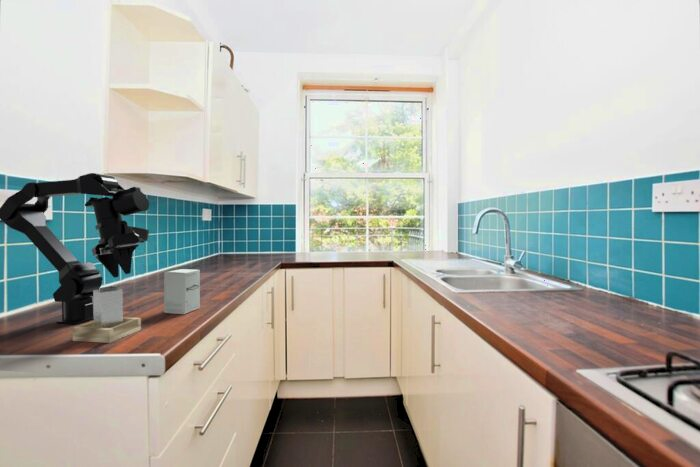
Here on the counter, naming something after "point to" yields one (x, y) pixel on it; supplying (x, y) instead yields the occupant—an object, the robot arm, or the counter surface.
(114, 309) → the socket block
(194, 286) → the supplement box
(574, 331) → the counter surface
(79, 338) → the cream square holder
